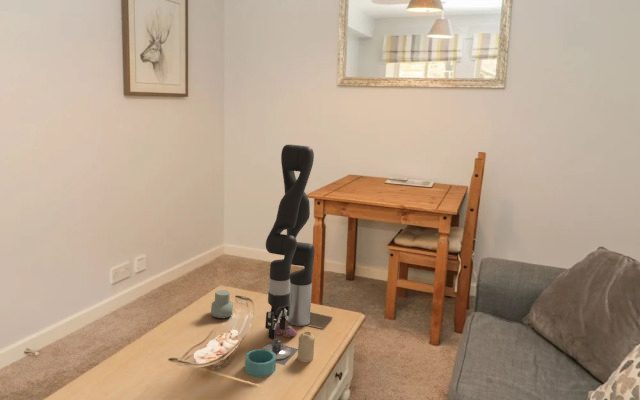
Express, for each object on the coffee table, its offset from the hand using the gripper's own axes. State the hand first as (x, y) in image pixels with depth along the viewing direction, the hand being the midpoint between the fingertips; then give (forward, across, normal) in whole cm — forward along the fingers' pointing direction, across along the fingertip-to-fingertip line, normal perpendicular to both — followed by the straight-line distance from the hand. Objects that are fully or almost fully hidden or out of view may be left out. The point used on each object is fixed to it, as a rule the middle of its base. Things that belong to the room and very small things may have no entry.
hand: (277, 333), depth 183 cm
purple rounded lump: (+8, -14, -4) cm, 17 cm away
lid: (+8, 0, 0) cm, 8 cm away
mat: (+8, 0, 0) cm, 8 cm away
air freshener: (+8, -19, -34) cm, 40 cm away
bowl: (+8, +12, 0) cm, 14 cm away
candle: (+8, -2, +10) cm, 14 cm away
